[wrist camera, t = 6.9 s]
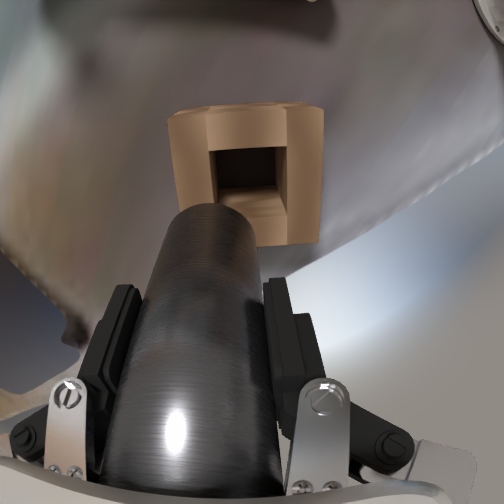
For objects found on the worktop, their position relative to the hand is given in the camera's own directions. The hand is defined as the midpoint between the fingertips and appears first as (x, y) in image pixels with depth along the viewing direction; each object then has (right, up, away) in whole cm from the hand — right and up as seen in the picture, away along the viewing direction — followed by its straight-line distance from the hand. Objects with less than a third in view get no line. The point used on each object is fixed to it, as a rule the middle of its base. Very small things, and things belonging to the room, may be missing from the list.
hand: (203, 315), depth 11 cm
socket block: (+1, +11, +18) cm, 21 cm away
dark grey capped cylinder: (0, +3, +4) cm, 5 cm away
